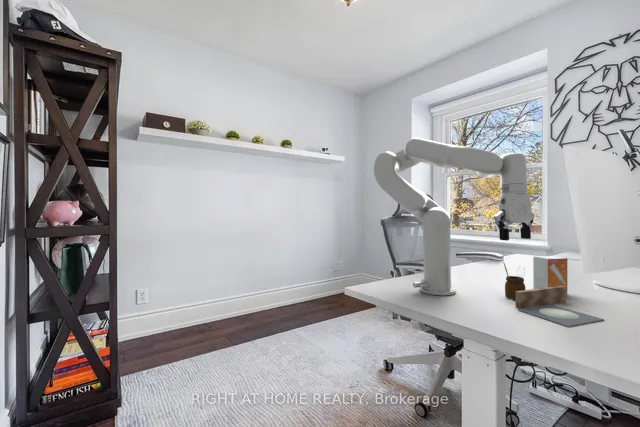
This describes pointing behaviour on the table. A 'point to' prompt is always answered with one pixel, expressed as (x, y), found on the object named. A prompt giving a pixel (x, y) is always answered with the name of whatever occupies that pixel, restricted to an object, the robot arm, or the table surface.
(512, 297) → the utensil holder
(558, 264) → the small box
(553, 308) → the mat
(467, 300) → the table surface
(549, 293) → the low wall
